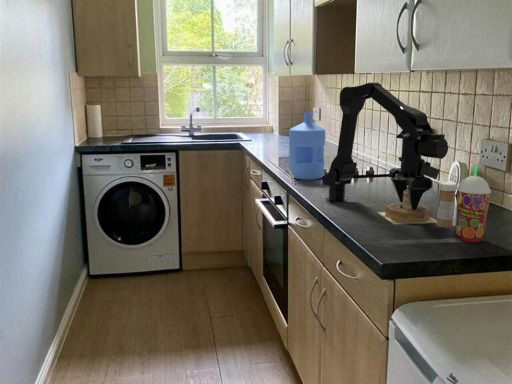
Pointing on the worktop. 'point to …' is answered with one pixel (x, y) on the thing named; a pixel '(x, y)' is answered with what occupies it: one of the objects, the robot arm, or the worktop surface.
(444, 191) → the sprinkles bottle
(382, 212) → the board
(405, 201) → the cream banded cylinder
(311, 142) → the water jug
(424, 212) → the bead
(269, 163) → the worktop surface
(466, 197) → the smoothie
